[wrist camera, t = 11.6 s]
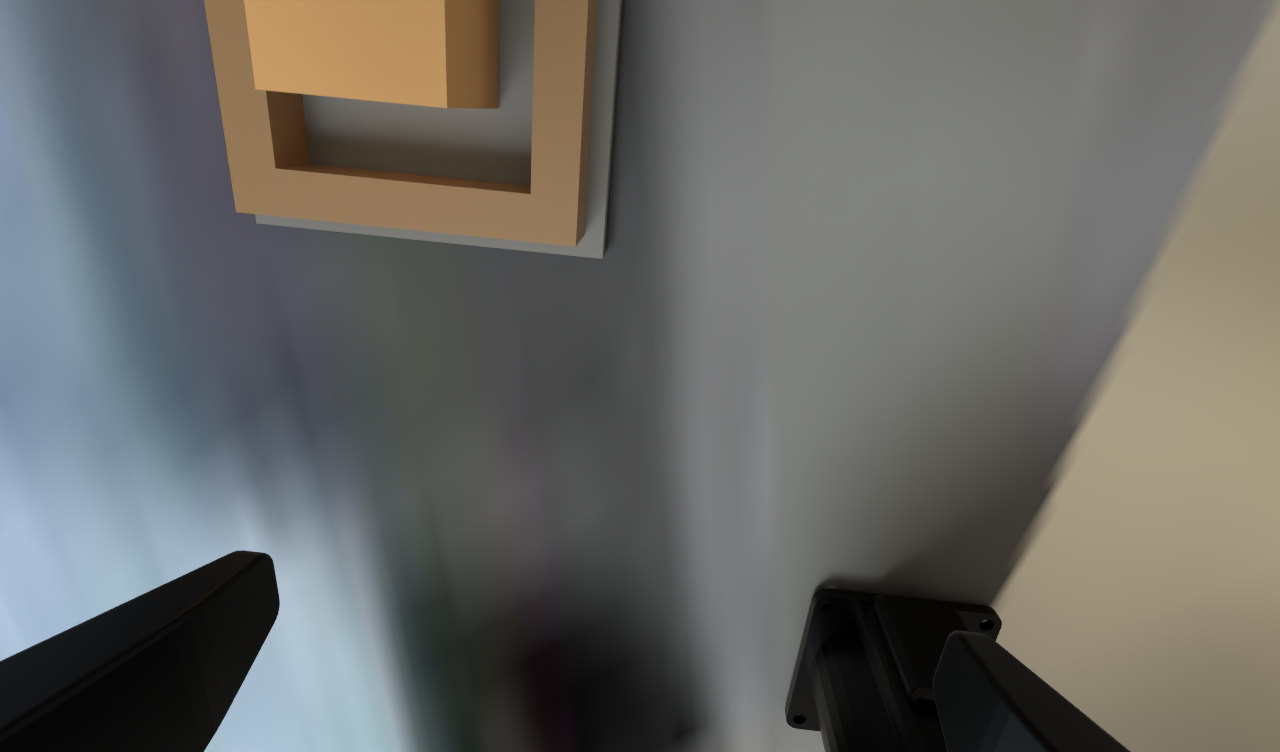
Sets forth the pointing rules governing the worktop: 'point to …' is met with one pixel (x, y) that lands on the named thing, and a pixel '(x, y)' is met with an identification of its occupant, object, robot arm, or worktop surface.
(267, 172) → the board
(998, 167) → the worktop surface
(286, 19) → the ochre bar
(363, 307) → the worktop surface
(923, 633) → the robot arm
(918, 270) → the worktop surface
